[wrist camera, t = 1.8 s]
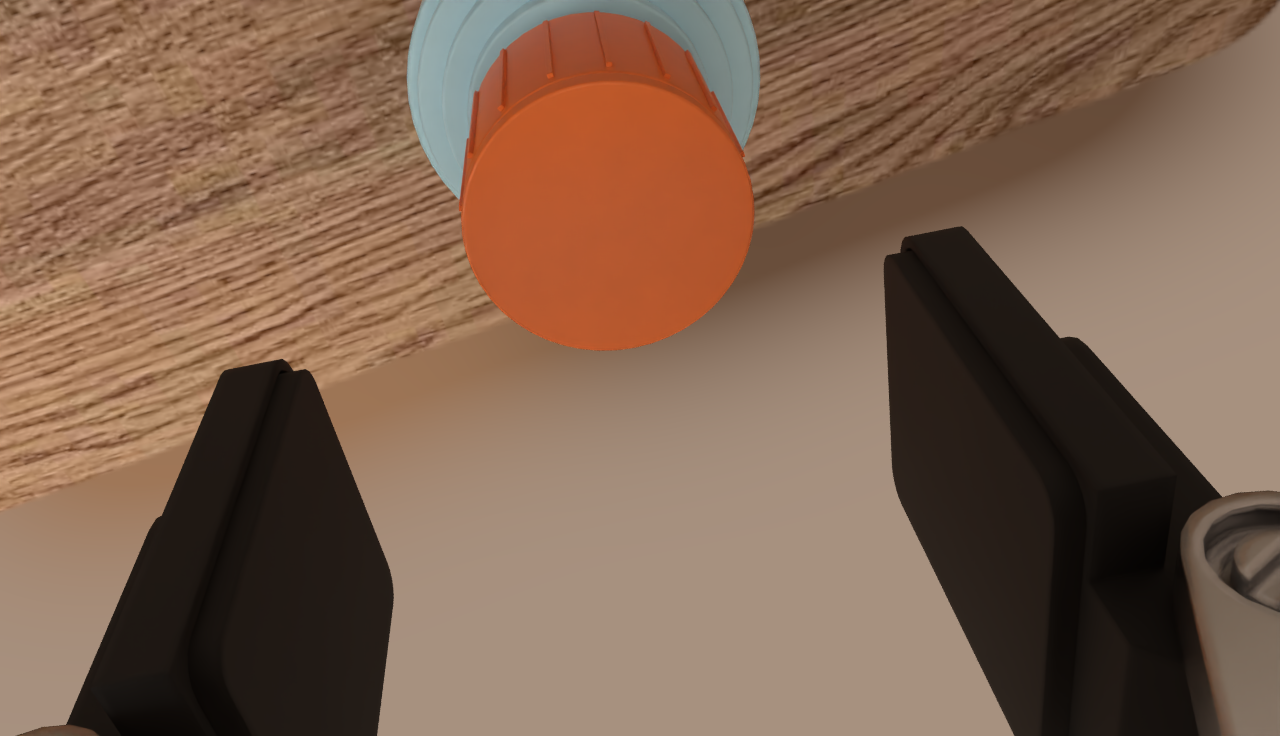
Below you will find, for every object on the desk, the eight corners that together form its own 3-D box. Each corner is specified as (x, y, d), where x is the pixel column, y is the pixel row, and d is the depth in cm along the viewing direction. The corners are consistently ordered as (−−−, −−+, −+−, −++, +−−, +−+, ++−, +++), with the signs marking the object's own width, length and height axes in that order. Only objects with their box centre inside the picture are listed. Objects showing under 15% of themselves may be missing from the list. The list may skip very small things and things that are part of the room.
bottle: (656, -198, 29) (816, -73, 14) (689, 42, 33) (847, 359, 17) (418, -152, 29) (305, 25, 14) (477, 83, 33) (441, 437, 17)
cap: (699, -14, 17) (740, 50, 14) (729, 222, 19) (770, 325, 16) (441, 36, 17) (423, 112, 14) (501, 267, 19) (498, 376, 16)
